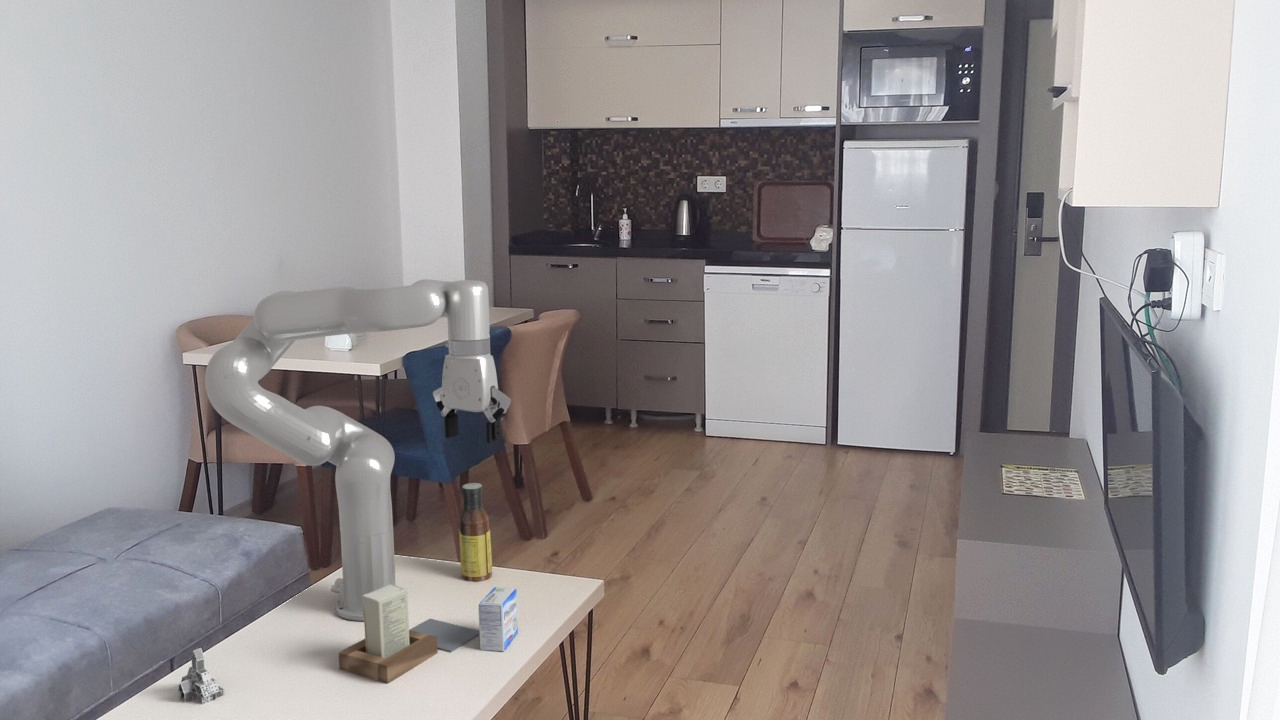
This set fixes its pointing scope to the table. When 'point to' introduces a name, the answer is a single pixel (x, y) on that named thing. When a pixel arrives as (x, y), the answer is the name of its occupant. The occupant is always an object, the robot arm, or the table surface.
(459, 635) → the charcoal mat
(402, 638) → the skincare box
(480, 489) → the sauce bottle
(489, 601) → the medicine box
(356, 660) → the walnut holder
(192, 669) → the grey toy block stack
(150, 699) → the table surface
